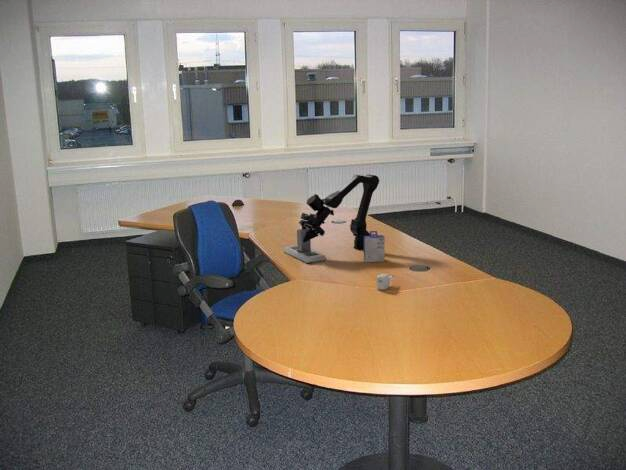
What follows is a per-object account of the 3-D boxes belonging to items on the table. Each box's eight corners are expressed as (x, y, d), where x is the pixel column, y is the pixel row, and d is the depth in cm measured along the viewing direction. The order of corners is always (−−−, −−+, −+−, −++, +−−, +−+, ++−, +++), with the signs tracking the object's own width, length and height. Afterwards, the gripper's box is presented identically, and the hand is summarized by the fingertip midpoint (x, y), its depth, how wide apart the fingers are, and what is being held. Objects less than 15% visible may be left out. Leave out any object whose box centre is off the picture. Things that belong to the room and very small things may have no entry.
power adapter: (385, 282, 262) (385, 269, 260) (395, 283, 259) (396, 270, 258) (374, 289, 252) (374, 275, 251) (385, 291, 250) (385, 277, 249)
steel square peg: (306, 251, 311) (305, 228, 308) (310, 253, 306) (310, 230, 304) (297, 252, 309) (296, 229, 306) (301, 255, 304) (301, 231, 302)
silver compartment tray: (284, 252, 317) (284, 247, 316) (301, 250, 321) (301, 244, 321) (306, 263, 294) (306, 257, 294) (325, 261, 299) (324, 255, 298)
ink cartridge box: (383, 258, 300) (383, 230, 297) (385, 261, 295) (385, 232, 292) (363, 259, 300) (363, 230, 297) (365, 262, 294) (364, 233, 291)
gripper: (301, 204, 312) (282, 227, 310) (318, 209, 296) (298, 234, 294) (315, 217, 318) (297, 241, 315) (333, 223, 301) (313, 248, 299)
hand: (301, 240), depth 306 cm, fingers closed on steel square peg, 5 cm apart
